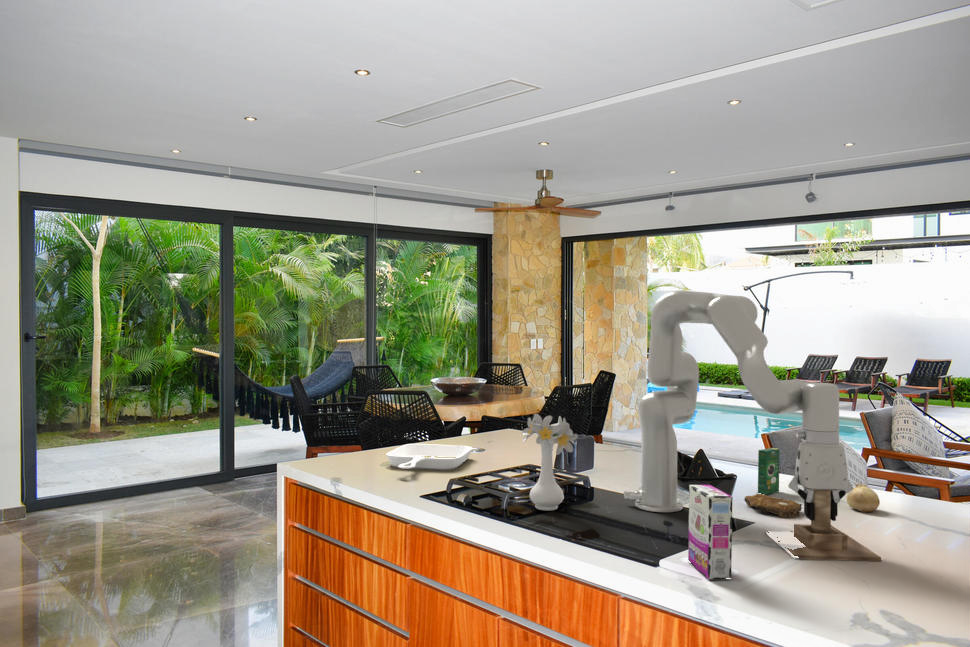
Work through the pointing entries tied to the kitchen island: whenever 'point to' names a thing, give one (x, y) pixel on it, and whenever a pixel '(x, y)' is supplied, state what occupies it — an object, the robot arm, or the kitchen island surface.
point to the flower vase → (548, 458)
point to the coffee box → (768, 471)
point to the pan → (413, 459)
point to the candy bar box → (710, 531)
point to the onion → (863, 498)
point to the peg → (822, 512)
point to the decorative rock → (774, 505)
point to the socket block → (829, 546)
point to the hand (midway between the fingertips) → (820, 518)
